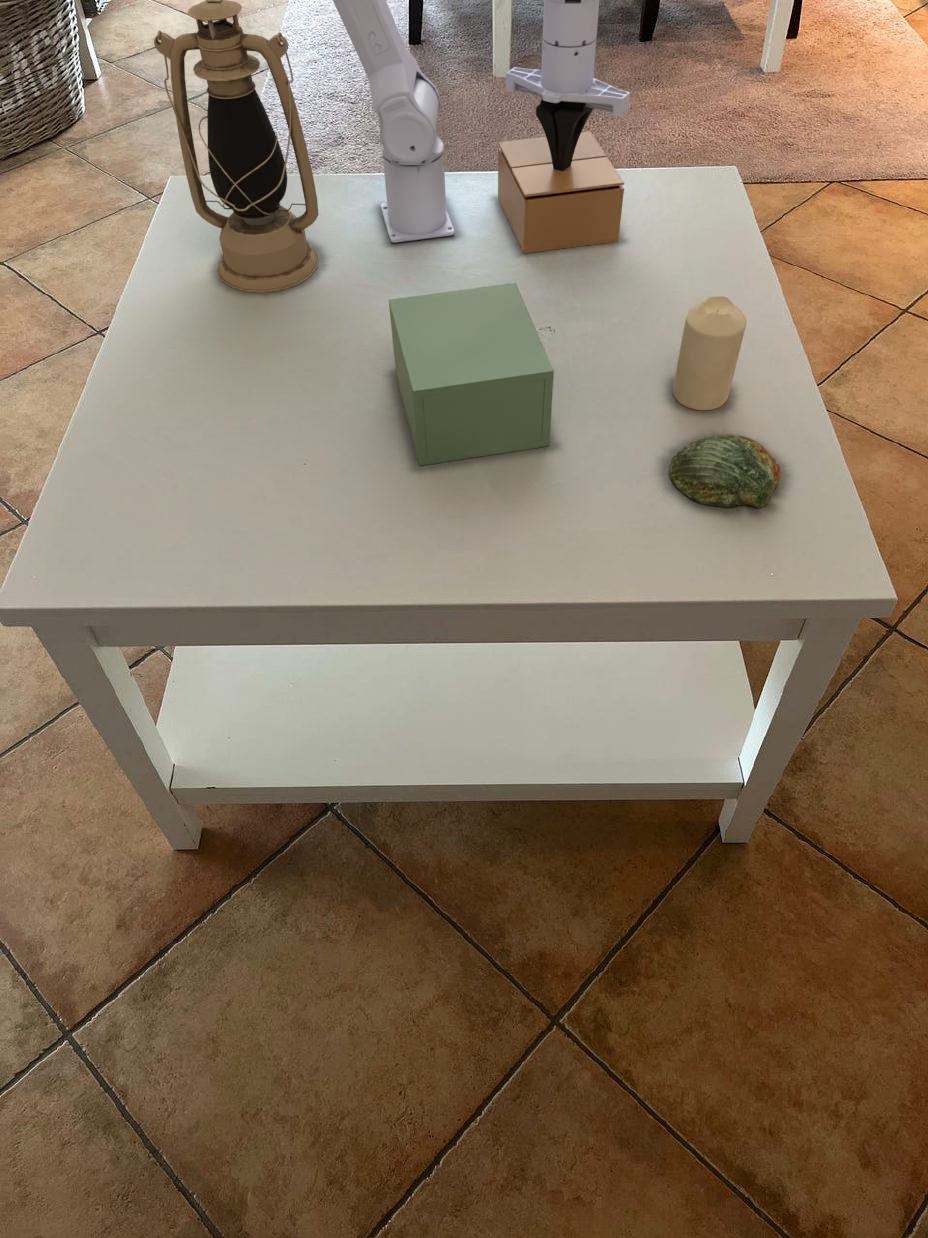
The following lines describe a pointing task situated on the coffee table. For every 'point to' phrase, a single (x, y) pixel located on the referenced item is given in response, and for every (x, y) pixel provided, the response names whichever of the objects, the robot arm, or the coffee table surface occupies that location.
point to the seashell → (726, 471)
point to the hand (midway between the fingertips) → (562, 166)
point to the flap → (567, 177)
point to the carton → (556, 201)
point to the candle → (709, 353)
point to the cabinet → (471, 373)
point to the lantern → (243, 151)
